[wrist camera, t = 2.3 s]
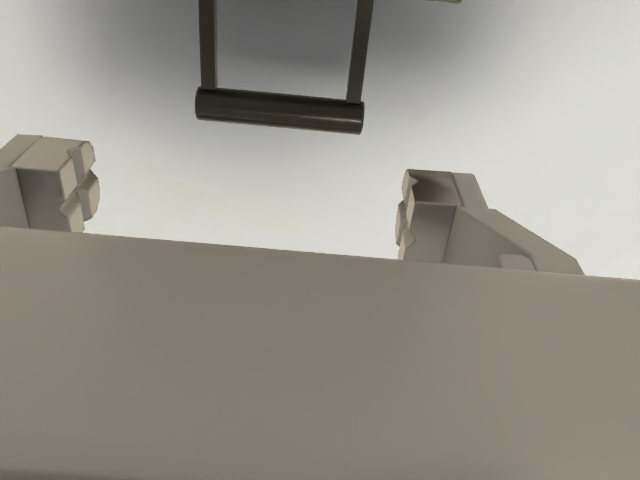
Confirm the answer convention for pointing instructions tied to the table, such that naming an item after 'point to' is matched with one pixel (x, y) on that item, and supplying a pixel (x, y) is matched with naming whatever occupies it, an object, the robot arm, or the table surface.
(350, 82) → the drawer
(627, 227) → the table surface
